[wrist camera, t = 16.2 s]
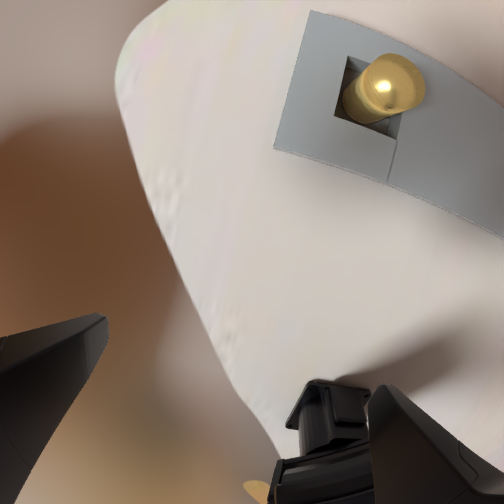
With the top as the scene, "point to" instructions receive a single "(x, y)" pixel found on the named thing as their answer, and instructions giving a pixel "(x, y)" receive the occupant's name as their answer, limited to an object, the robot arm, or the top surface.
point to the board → (398, 125)
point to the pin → (384, 89)
